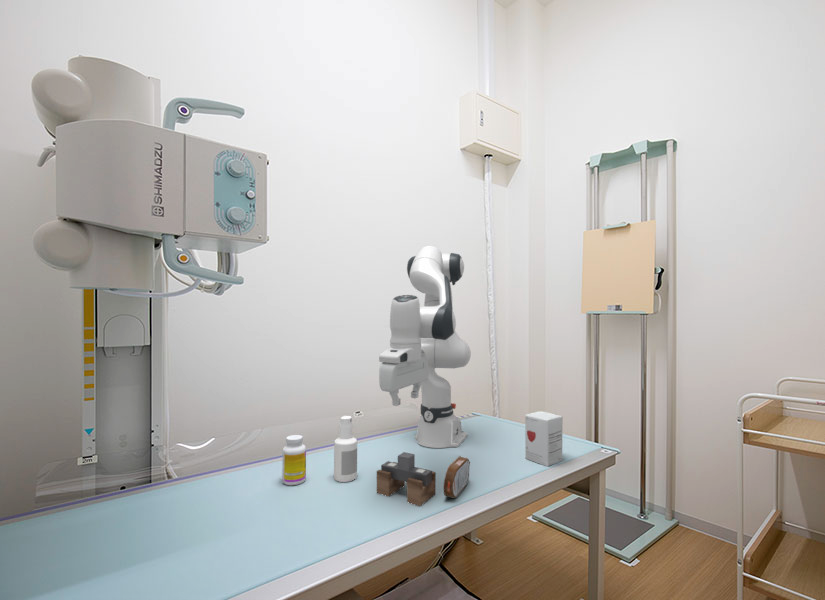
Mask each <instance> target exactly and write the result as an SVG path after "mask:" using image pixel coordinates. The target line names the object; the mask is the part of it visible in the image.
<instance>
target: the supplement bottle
mask: <svg viewBox="0 0 825 600" xmlns="http://www.w3.org/2000/svg"><path fill="white" fill-rule="evenodd" d="M285 438H286V439H285V442H286V445H284V447H283V448H282V468H281V469H282V473H281V474H282V477H281V478H282V480H281V481H282V483H283V484H284V485H287V486H296V485H300V484H303V483H304V482H305V481H306V479H307V477H306V476H307V446H306V445H305V444H303V441H304V439H303V438H304V437H303V435H301V434H300V435H299V434H291V435H288V436H287V437H285Z"/></svg>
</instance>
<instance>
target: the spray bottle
mask: <svg viewBox="0 0 825 600" xmlns="http://www.w3.org/2000/svg"><path fill="white" fill-rule="evenodd" d="M339 420H340V421H339V426H338V428H339V430H338V437H337V438H336V439H335V440H334V443H333V479H334V480H335V481H336V482H338V481H339V482H340V483H348V482H352V480H353V481H354V479H355V480H357V477H358V440H357V438H356V437H354V436H353V435H354V434H353V433H354V432H353V422H352V420H353V419H352V416H350V415H342V416H341V417H340V418H339Z"/></svg>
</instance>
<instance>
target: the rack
mask: <svg viewBox="0 0 825 600" xmlns="http://www.w3.org/2000/svg"><path fill="white" fill-rule="evenodd" d="M393 462H394V463H397V462H395V461H393ZM436 474H437V473H436V471H432V482H431V483H430V484H429V485H428V486H426V487H425V486H423V481H420V480H416V479H413V478H408V479H407V482H404V481H400V480H395V479H391V473H390V472H387V471H383V470H381V469H378V470H376V494H378V493H379V494H378V495H381V494H383V495H382V496H385V495H386V497H388V496H389V497H391V496H392V495H393V494H395V493H397V492H398V491H399V490H401V489H403V488H404V487H405V486H406V491H407V492H406V503H407V502H409V503H408V504H411V503H412V504H411V505H414V504H415V506H417V505H419V506H418V507H421V506H423V505H424V504H425V503H427V502H428V501H429V500H430V499H432V498H434V496H435V495H436ZM403 486H404V487H403ZM400 488H401V489H400ZM397 490H398V491H397ZM394 492H395V493H394ZM391 494H392V495H391ZM431 497H432V498H431ZM428 499H429V500H428ZM427 500H428V501H427ZM424 502H425V503H424ZM423 503H424V504H423ZM422 504H423V505H422Z"/></svg>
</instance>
